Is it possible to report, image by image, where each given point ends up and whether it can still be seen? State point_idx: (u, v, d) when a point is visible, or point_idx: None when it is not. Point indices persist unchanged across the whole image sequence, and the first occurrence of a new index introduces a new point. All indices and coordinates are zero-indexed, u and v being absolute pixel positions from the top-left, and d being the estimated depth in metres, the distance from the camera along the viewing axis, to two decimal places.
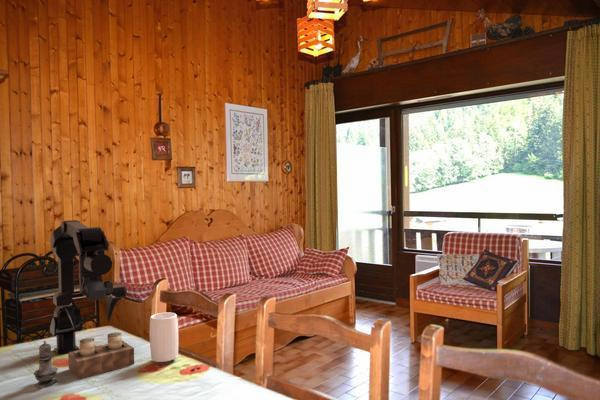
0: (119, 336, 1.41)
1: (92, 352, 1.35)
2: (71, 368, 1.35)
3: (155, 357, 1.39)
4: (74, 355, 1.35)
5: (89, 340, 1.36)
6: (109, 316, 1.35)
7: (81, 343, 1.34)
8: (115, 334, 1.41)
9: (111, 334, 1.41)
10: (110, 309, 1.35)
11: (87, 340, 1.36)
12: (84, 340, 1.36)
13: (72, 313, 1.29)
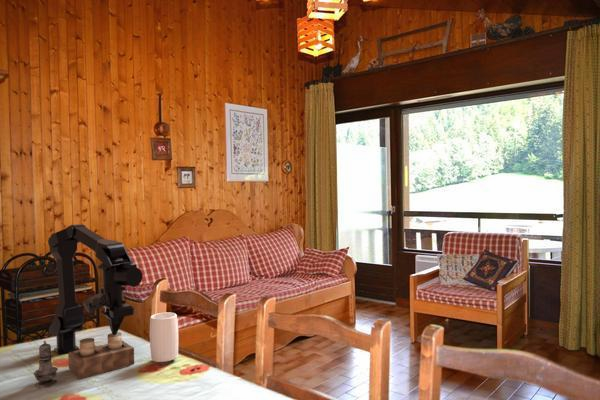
0: (119, 336, 1.41)
1: (92, 352, 1.35)
2: (71, 368, 1.35)
3: (155, 357, 1.39)
4: (74, 355, 1.35)
5: (89, 340, 1.36)
6: (111, 330, 1.40)
7: (81, 343, 1.34)
8: (115, 334, 1.41)
9: (111, 335, 1.41)
10: (110, 323, 1.40)
11: (87, 340, 1.36)
12: (84, 340, 1.36)
13: (108, 320, 1.41)
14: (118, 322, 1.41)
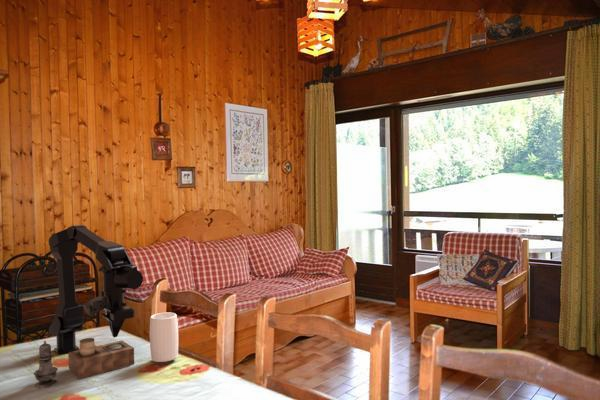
0: None
1: (92, 352, 1.35)
2: (71, 368, 1.35)
3: (155, 357, 1.39)
4: (74, 355, 1.35)
5: (89, 340, 1.36)
6: (112, 332, 1.40)
7: (81, 343, 1.34)
8: (115, 346, 1.41)
9: (111, 347, 1.41)
10: (111, 326, 1.40)
11: (87, 340, 1.36)
12: (84, 340, 1.36)
13: (109, 323, 1.41)
14: (119, 325, 1.41)
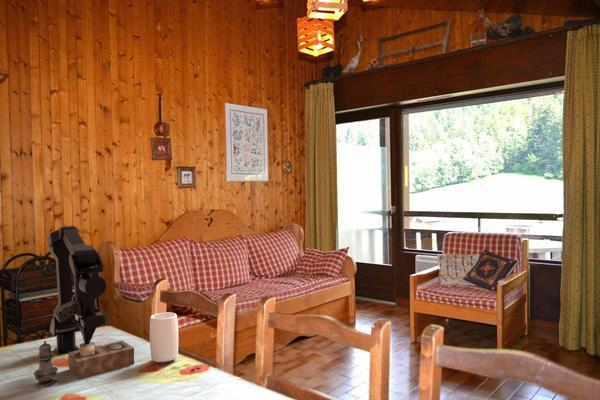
0: None
1: None
2: (71, 368, 1.35)
3: (155, 357, 1.39)
4: (74, 355, 1.35)
5: (89, 344, 1.36)
6: (84, 339, 1.35)
7: (81, 347, 1.34)
8: (115, 346, 1.41)
9: (111, 347, 1.41)
10: (82, 332, 1.35)
11: (87, 344, 1.36)
12: (84, 344, 1.36)
13: (81, 329, 1.36)
14: (91, 331, 1.36)
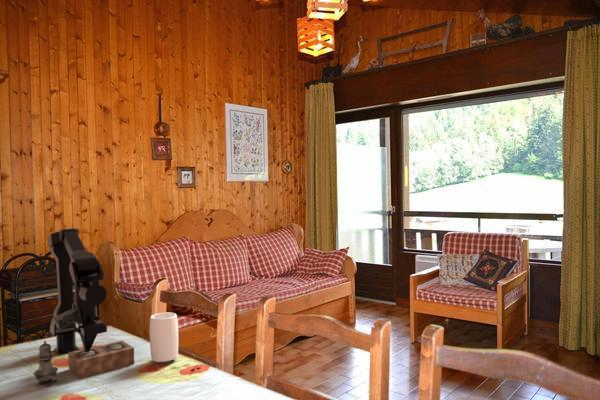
0: None
1: None
2: (71, 368, 1.35)
3: (155, 357, 1.39)
4: (74, 355, 1.35)
5: (89, 353, 1.36)
6: (84, 347, 1.35)
7: (81, 356, 1.34)
8: (115, 346, 1.41)
9: (111, 347, 1.41)
10: (83, 340, 1.35)
11: (88, 353, 1.36)
12: (84, 353, 1.36)
13: (81, 337, 1.36)
14: (91, 339, 1.35)
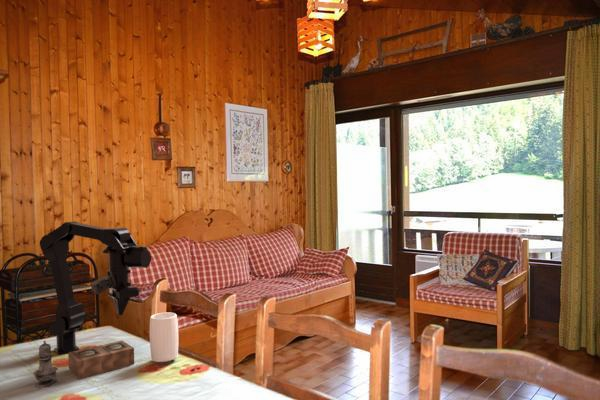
0: None
1: None
2: (71, 368, 1.35)
3: (155, 357, 1.39)
4: (74, 355, 1.35)
5: (89, 353, 1.36)
6: (118, 310, 1.48)
7: (81, 356, 1.34)
8: (115, 346, 1.41)
9: (111, 347, 1.41)
10: (116, 304, 1.47)
11: (88, 353, 1.36)
12: (84, 353, 1.36)
13: (115, 302, 1.48)
14: (124, 303, 1.48)
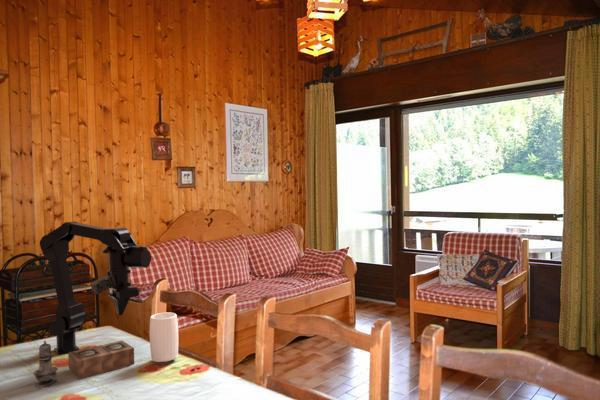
0: None
1: None
2: (71, 368, 1.35)
3: (155, 357, 1.39)
4: (74, 355, 1.35)
5: (89, 353, 1.36)
6: (118, 310, 1.48)
7: (81, 356, 1.34)
8: (115, 346, 1.41)
9: (111, 347, 1.41)
10: (116, 304, 1.47)
11: (88, 353, 1.36)
12: (84, 353, 1.36)
13: (115, 302, 1.48)
14: (124, 303, 1.48)
